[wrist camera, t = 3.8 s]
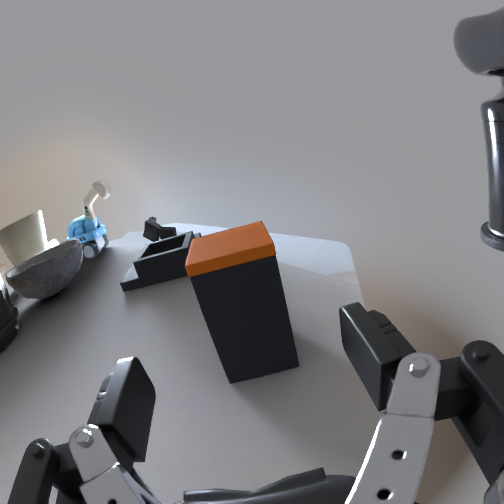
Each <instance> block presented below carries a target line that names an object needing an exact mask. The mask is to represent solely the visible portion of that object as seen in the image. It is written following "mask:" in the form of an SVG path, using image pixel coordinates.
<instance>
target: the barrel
mask: <svg viewBox="0 0 504 504" xmlns="http://www.w3.org/2000/svg"><path fill="white" fill-rule="evenodd" d="M18 327H19V323H18V310H17V308H16V307H13V304H12V301H11V299H10V296H9V293H8V290H7V288H6V286H5V283H4V281H3V279H2V277H1V274H0V353H1V352H2V351H4V350H5V349H6V347H7V346H8V345H9V344H10V342H11V341H12V340H13V339H14V338H15V337H16V335H17V334H18Z"/></svg>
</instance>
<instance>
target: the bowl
mask: <svg viewBox="0 0 504 504" xmlns="http://www.w3.org/2000/svg"><path fill="white" fill-rule="evenodd" d="M82 259H83V250H82V246H81V243H80V242H79V240H78V239H71V240H67V241H65V242H63V243H60V244H58V245H56V246H54V247H52V248H50V249H48V250H45V251H43V252H41V253H40V254H37V255H35V256H33V257H32V258H30V259H28V260H26V261H24V262H22V263H21V264H19V265H17V266H16V267H14V268H13V269H12V270H10V271H9V272H8V273H7V274H6V280H7V282H8V284H9V285H10V286H11V287H12V288H13V289H14V291H15V292H16V293H17V294H18V295H20V296H21V297H23V298H26V299H31V298H32V299H35V298H36V299H43V298H47V297H50V296H52V295H55V294H56V293H58V292H60V291H61V290H62V289H63V288H64V287H65V286H66V285H67V284H68V283H69V282H70V281H71V280H72V279H73V277H74V276H75V275H76V273H77V272H78V270H79V268H80V266H81V263H82Z"/></svg>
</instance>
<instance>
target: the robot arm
mask: <svg viewBox="0 0 504 504" xmlns="http://www.w3.org/2000/svg"><path fill="white" fill-rule="evenodd" d="M453 43H454V49H455V51H456V54H457V56H458V58H459V60H460V61H461V63H462V64H463V65H464V66H465V67H466V68H467V69H468V70H469V71H471V72H473V73H474V74H477V75H481V76H494V77H501V90H500V91H499V93H498V94H497V95H495V96H494V97H492V98H490V99H488V100H485V101H483V102H482V103H481V105H480V110H481V117H482V120H483V121H482V123H483V130H484V138H485V145H486V156H487V170H488V191H489V221H488V231H489V232H490V233H491V234H492V235H494V236H495V237H497V238H500V239H503V240H504V7H502V8H500V9H498V10H495V11H493V12H490V13H487V14H483V15H478V16H472V17H466V18H463V19H461V20H460V21H459V22H458V23H457V25H456V27H455V30H454V34H453ZM339 316H340V326H341V336H342V343H343V347H344V350H345V352H346V354H347V356H348V358H349V360H350V361H351V363H352V365H353V367H354V368H355V370H356V372H357V374H358V376H359V377H360V379H361V381H362V383H363V384H364V386H365V388H366V390H367V392H368V393H369V395H370V397H371V399H372V401H373V402H374V404H375V406H376V408H377V410H378V411H382V410H384V409H386V411H385V412H383V414H382V416H381V418H380V421H379V424H378V427H377V430H376V432H375V435H374V438H373V441H372V443H371V446H370V448H369V451H368V454H367V456H366V459H365V461H364V464H363V466H362V468H361V471H360V473H359V475H358V478H357V477H352V476H346V475H325V472H324V469H323V467H322V468H319V469H315V470H311V471H308V472H304V473H300V474H296V475H292V476H288V477H286V478H283V479H281V480H279V481H277V482H274V483H272V484H270V485H267V486H265V487H262V488H260V489H257V490H255V491H237V490H224V489H209V490H197V491H184V500H183V501H180V502H177V503H175V504H419V503H416V502H415V498H416V495H417V492H418V488H419V485H420V482H421V479H422V475H423V471H424V468H425V463H426V460H427V456H428V452H429V447H430V442H431V438H432V433H433V428H434V422H435V421H438V420H443V419H448V418H451V419H452V421H453V422H454V424H455V426H456V427H457V429H458V431H459V432H460V434H461V436H462V437H463V439H464V441H465V442H466V444H467V446H468V447H469V449H470V451H471V452H472V454H473V456H474V458H475V459H476V461H477V463H478V465H479V466H480V468H481V470H482V472H483V474H484V476H485V477H486V479H487V481H488V483H489V485H490V486H489V488H488V489H487V491H486V493H485V496H484V504H504V355H503V354H502V353H501V352H500V351H499V349H498V348H497V347H496V346H494V345H493V344H492V343H489V342H487V341H480V340H478V341H473V342H470V343H469V344H467V345H466V346H465V347H464V348H463V351H462V355H461V357H456V358H451V359H446V360H438V359H437V358H436V357H435V356H433V355H431V354H428V353H423V352H416V350H415V349H414V348H413V347H412V346H411V345H410V343H409V342H408V341H407V340H406V339H405V338H404V337H403V335H402V334H401V333H400V332H399V331H398V330H397V329H396V327H395V326H394V325H393V324H391V322H390V321H389V319H388V318H387V317H386V316H385V315H384V314H382V313H379V312H377V311H375V310H372V311H369V312H367V311H366V310H365V309H364V308H363V306H362V305H361V304H360V303H359V302H355V303H352V304H349V305H346V306H342V307H340V308H339ZM99 392H100V393H98V396H97V398H96V399H97V401H95V404H94V406H93V409H92V412H91V414H90V417H89V420H88V423H87V425H84V426H82V427H80V428H78V429H77V430H75V431H74V432H73V434H72V435H71V437H70V439H69V443H65V444H61V445H58V446H53V445H52V444H51V443H50V442H49V441H48V440H47V439H45V438H40V439H36V440H34V441H33V442H31V443H30V444H29V446H28V447H27V449H26V451H25V453H24V456H23V459H22V461H21V464H20V467H19V470H18V473H17V476H16V478H15V481H14V485H13V488H12V491H11V494H10V497H9V501H8V504H49V497H50V493H51V489H52V486H54V487H55V488H56V489H57V490H59V491H58V495H57V499H56V504H162V503H161V502H160V501H159V500H158V498H157V497H156V496H155V494H154V493H153V492H152V491H151V489H150V488H149V487H148V485H147V484H146V483H145V481H144V480H143V478H142V477H141V476H140V474H139V473H138V471H137V470H136V469H135V468H134V467H133V463H134V462H145V457H146V451H147V445H148V439H149V433H150V427H151V421H152V416H153V410H154V405H155V399H156V394H155V389H154V386H153V384H152V382H151V380H150V378H149V377H148V375H147V373H146V371H145V370H144V368H143V366H142V364H141V362H140V361H139V359H138V358H137V357H132V358H126V359H120V360H118V361H117V364H116V366H115V369H114V371H113V373H110V374H109V375H108V377H107V378H106V379H105V380H104V381H103V383H102V385H101V388H100V391H99Z"/></svg>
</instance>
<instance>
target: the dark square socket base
mask: <svg viewBox="0 0 504 504" xmlns="http://www.w3.org/2000/svg"><path fill="white" fill-rule="evenodd" d="M199 237H201V233H198V234H193V231H190V232H187V233H183V234H180V235H176V236H172V237H169V238H165V239H162V240H158V241H155V242H151V243H148V244H145V245H144V247H143V248H142V250H141V251H140V253H139V254H138V255H137V257H136V258H135V260H134V261H133V264H132V265H131V267H130V268H129V270H128V271H127V273H126V275H125V276H124V278H123V279H122V281H121V282H120V285H121V287H122V290H123V292H124V291H128V290H132V289H136V288H140V287H144V286H148V285H151V284H155V283H159V282H163V281H167V280H171V279H175V278H179V277H183V276H187V275H188V274H187V271H186V268H185V264H186V260H187V257H188V253H189V249H190V246H191V242H192V239H195V238H199Z"/></svg>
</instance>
